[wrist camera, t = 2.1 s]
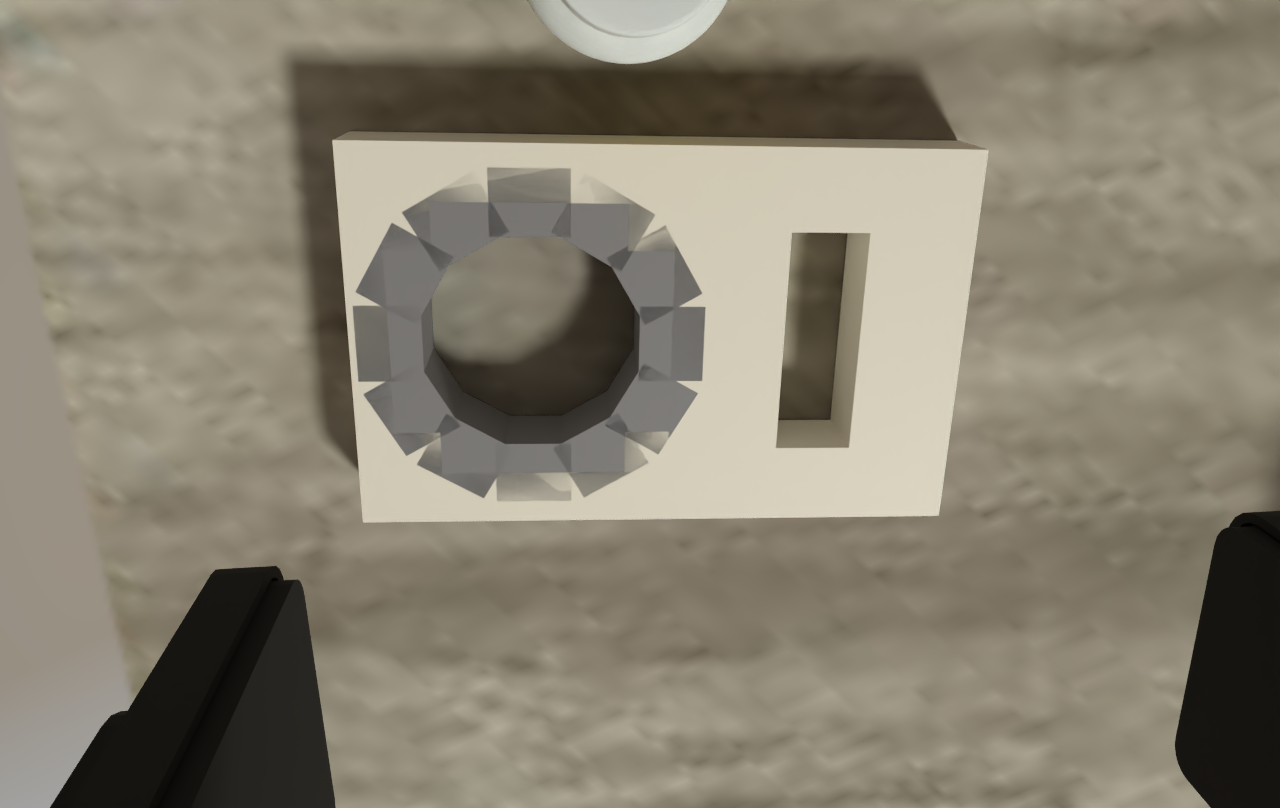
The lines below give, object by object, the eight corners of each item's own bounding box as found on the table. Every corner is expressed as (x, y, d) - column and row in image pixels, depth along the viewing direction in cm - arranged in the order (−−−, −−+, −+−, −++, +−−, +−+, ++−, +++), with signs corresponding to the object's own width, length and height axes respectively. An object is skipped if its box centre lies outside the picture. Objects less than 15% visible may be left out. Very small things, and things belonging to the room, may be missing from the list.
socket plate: (958, 140, 33) (988, 149, 30) (914, 484, 37) (938, 515, 34) (349, 131, 31) (332, 140, 29) (376, 489, 35) (363, 522, 33)
